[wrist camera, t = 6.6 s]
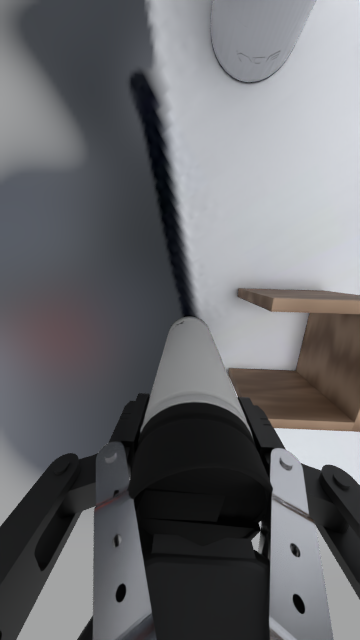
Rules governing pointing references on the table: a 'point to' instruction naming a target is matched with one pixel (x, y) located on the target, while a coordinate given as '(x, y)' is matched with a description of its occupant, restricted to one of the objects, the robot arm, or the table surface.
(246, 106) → the table surface
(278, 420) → the wooden u-shaped bracket
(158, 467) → the travel mug
